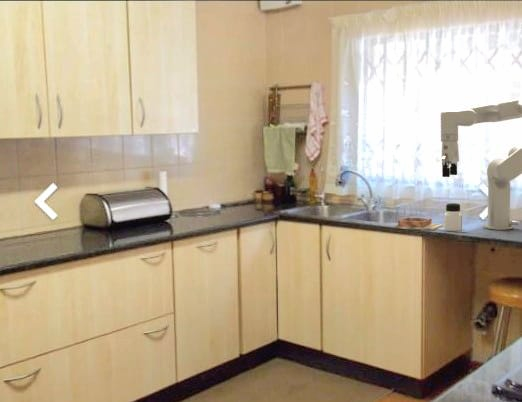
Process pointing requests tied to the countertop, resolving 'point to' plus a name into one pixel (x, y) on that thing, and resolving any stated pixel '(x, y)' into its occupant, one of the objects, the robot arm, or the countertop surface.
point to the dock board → (417, 224)
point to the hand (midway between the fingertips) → (449, 175)
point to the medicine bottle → (453, 217)
